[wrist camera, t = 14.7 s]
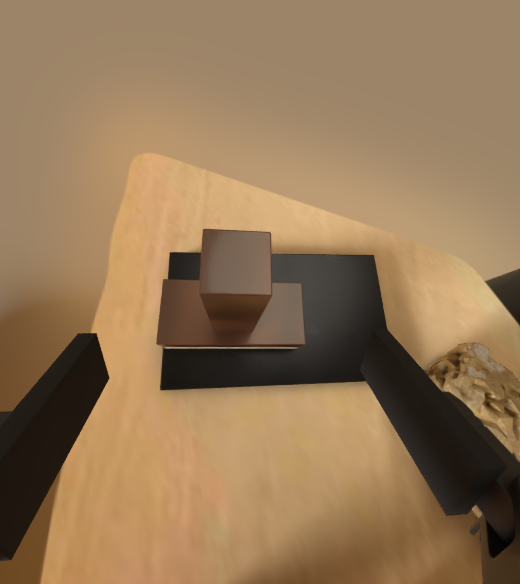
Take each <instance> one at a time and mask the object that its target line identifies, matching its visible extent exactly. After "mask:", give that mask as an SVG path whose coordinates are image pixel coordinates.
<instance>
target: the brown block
mask: <svg viewBox="0 0 520 584" xmlns="http://www.w3.org/2000/svg"><path fill="white" fill-rule="evenodd" d="M156 344H157V345H159V346H162V347H164V348H292V349H296V348H298V347H301V346H303V345H305V328H304V311H303V295H302V283H277V282H272V254H271V233H270V232H257V231H236V230H216V229H203V236H202V252H201V268H200V280H169V279H164V280H163V287H162V296H161V305H160V315H159V324H158V334H157V343H156Z"/></svg>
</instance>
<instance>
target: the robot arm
mask: <svg viewBox="0 0 520 584" xmlns="http://www.w3.org/2000/svg"><path fill="white" fill-rule="evenodd" d="M360 371H361V373H362V374H363V376H364V378H365V379H366V381H367V383H368V384H369V386H370V388H371V389H372V391H373V393H374V394H375V396H376V398H377V400H378V401H379V403H380V405H381V406H382V408H383V410H384V411H385V413H386V415H387V416H388V418H389V420H390V421H391V423H392V425H393V426H394V428H395V430H396V432H397V433H398V435H399V437H400V438H401V440H402V442H403V443H404V445H405V447H406V448H407V450H408V452H409V453H410V455H411V457H412V458H413V460H414V462H415V464H416V465H417V467H418V469H419V470H420V472H421V474H422V475H423V477H424V479H425V480H426V482H427V484H428V485H429V487H430V489H431V490H432V492H433V494H434V495H435V497H436V499H437V501H438V502H439V504H440V506H441V507H442V509H443V511H444V512H445V514H446V516H451V515H461V514H468V513H469V512H470V510H471V509H472V508H473V507H474V506H475V505H477V507H478V508H479V510H480V511H481V512H482V515H481V517H480V518H479V519H478V520H477V521H476V522H475V523H474V524H473V525H472V526H471V529H470V534H472V535H475V534H476V533H477V531H478V530H479V529H480V540H481V556H482V574H483V584H520V462H519V461H518V460H517V459H516V458H515V457H514V455H513V454H512V453H511V452H510V451H509V450H508V449H507V448H506V447H505V446H504V445H503V444H502V443H501V442H500V440H499V439H498V438H497V437H496V436H495V435H494V434H493V433H492V432H491V431H490V430H489V429H488V428H487V427H485V426H484V423H483V422H482V421H481V420H480V419H479V418H478V417H477V416H475V415H474V413H473V412H472V410H471V409H470V408H469V407H468V406H467V405H466V404H465V403H464V402H463V401H462V400H460V399H459V398H457V397H456V396H455V395H453V394H452V393H450V392H449V391H448V392H442V391H441V390H440V389H439V388H438V386H437V385H436V384H435V383H434V382H433V381H432V380H431V378H430V377H429V376H428V375H427V374H426V373H425V372H424V371H423V369H422V368H421V367H420V366H419V365H418V364H417V363H416V362H415V360H414V359H413V358H412V357H411V356H410V355H409V354H408V352H407V351H406V350H405V349H404V348H403V347H402V346H401V345H400V343H399V342H398V341H397V340H396V339H395V338H394V337H393V336H392V334H391V333H390V332H389V331H388V330H387V329H372V333H371V336H370V339H369V342H368V346H367V349H366V352H365V355H364V359H363V362H362V365H361V368H360ZM108 380H109V375H108V371H107V368H106V364H105V361H104V358H103V354H102V351H101V347H100V344H99V340H98V337H97V334H96V333H84V334H77V336H76V337H75V338H74V339H73V340H72V342H71V343H70V344H69V345H68V346H67V347H66V349H65V350H64V351H63V352H62V353H61V355H60V356H59V357H58V358H57V359H56V361H55V362H54V363H53V364H52V365H51V367H50V368H49V369H48V370H47V371H46V372H45V374H44V375H43V376H42V377H41V378H40V379H39V380H38V382H37V383H36V384H35V385H34V386H33V388H32V389H31V390H30V391H29V393H27V395H26V396H25V397H24V398H23V399H22V400H21V402H20V403H19V404H18V405H17V406H16V408H15V409H14V410H13V411H11V412H0V561H6V560H11V559H12V557H13V556H14V554H15V552H16V550H17V548H18V546H19V545H20V543H21V541H22V539H23V537H24V535H25V533H26V532H27V530H28V528H29V526H30V524H31V522H32V520H33V519H34V517H35V515H36V513H37V511H38V510H39V508H40V506H41V504H42V502H43V500H44V498H45V497H46V495H47V493H48V491H49V489H50V487H51V485H52V484H53V482H54V480H55V478H56V476H57V474H58V473H59V471H60V469H61V467H62V465H63V463H64V461H65V460H66V458H67V456H68V454H69V452H70V450H71V448H72V447H73V445H74V443H75V441H76V439H77V437H78V436H79V434H80V432H81V430H82V428H83V426H84V424H85V423H86V421H87V419H88V417H89V415H90V413H91V411H92V410H93V408H94V406H95V404H96V402H97V400H98V399H99V397H100V395H101V393H102V391H103V389H104V387H105V386H106V384H107V382H108Z"/></svg>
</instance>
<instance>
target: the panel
mask: <svg viewBox="0 0 520 584" xmlns="http://www.w3.org/2000/svg"><path fill="white" fill-rule="evenodd" d="M200 268H201V253H184V252H170V257H169V271H168V279H169V280H200ZM272 282H277V283H302V295H303V311H304V328H305V345H303V346H301V347H298V348H296V349H292V348H164V347H163V355H162V369H161V384H160V390H181V389H203V388H226V387H249V386H272V385H294V384H317V383H340V382H363V381H366V379H365V378H364V376H363V374H362V373H361V371H360V368H361V365H362V362H363V359H364V355H365V352H366V349H367V346H368V342H369V339H370V336H371V333H372V329H387V326H386V320H385V315H384V309H383V303H382V298H381V292H380V287H379V281H378V276H377V270H376V265H375V259H374V255H326V254H272Z"/></svg>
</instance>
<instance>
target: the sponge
mask: <svg viewBox="0 0 520 584" xmlns="http://www.w3.org/2000/svg"><path fill="white" fill-rule="evenodd" d="M428 376H429V377H430V378H431V380H432V381H433V382H434V383H435V384H436V385H437V386H438V388H439V389H440V390H441V391H442V392H448V391H449V392H450V393H452V394H453V395H455V396H456V397H457V398H459V399H460V400H462V401H463V402H464V403H465V404H466V405H467V406H468V407H469V408H470V409H471V410H472V412H473V413H474V415H475V416H477V417H478V418H479V419H480V420H481V421H482V422H483V423H484V426H485V427H487V428H488V429H489V430H490V431H491V432H492V433H493V434H494V435H495V436H496V437H497V438H498V439H499V440H500V442H501V443H502V444H503V445H504V446H505V447H506V448H507V449H508V450H509V451H510V452H511V453H512V454H513V455H514V457H515V458H516V459H517V460H518V461H519V462H520V381H519V380H518V379H517V378H516V377H515V376H514V374H513V373H512V372H511V371H510V370H508V369H507V368H505V367H504V366H503V365H501V364H500V363H498V362H496V361H494V360H493V359H492V358H490V357H489V349H488V348H486V347H485V346H483V345H482V344H480V343H464V344H459V345H458V346H457V347H456V348H454V349H453V350H451V351H450V352H448V353H447V355H446V356H443V357H442V359H441V362H439V363H438V364H435V365H433V366H432V370H431V372H430V373H429V375H428ZM472 510H473V512H474V513H475V515H476V516H477V517H478V518H480V517H481V515H482V512H481V511H480V510H479V508H478V507H477V505H475V506H474V507H473V508H472Z"/></svg>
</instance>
